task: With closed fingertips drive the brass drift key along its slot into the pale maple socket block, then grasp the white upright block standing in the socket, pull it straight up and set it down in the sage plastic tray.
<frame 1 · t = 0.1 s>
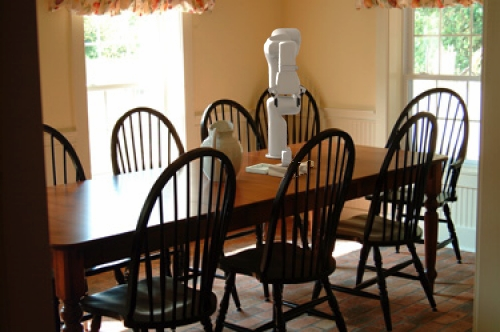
hand: (287, 107, 338), 31 cm above the table, tool pointing down, fingers open, 9 cm apart
white upright block: (286, 174, 342), resting in socket block
rack tray: (263, 170, 351), on the table
drift key: (304, 166, 354), point 2 cm above the table, slide at 0.0 cm
socket block: (289, 173, 344), on the table
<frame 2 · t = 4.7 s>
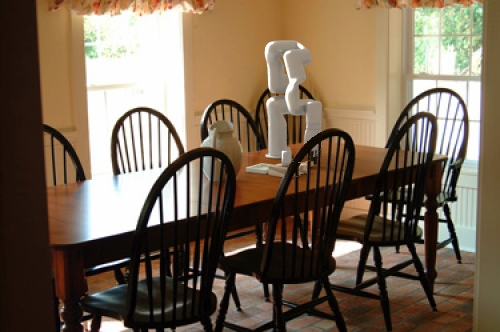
hand: (313, 164, 360), 1 cm above the table, tool pointing down, fingers closed
drift key: (304, 166, 354), point 2 cm above the table, slide at 0.2 cm, touching gripper
everything else where it was.
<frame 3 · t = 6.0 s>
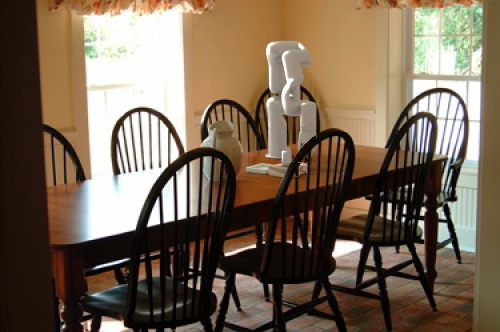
hand: (307, 165, 356), 1 cm above the table, tool pointing down, fingers closed
drift key: (298, 167, 350), point 2 cm above the table, slide at 5.4 cm, touching gripper
everything else where it was.
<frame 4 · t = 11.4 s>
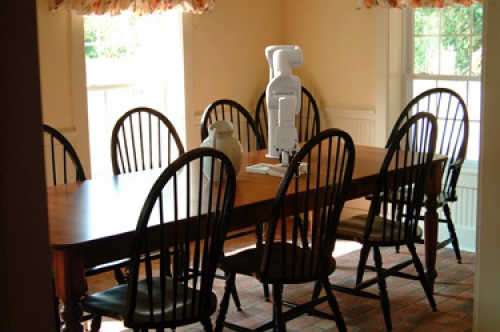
hand: (286, 163, 341), 5 cm above the table, tool pointing down, fingers closed on white upright block, 4 cm apart
white upright block: (286, 174, 342), resting in socket block, touching gripper
drift key: (298, 167, 350), point 2 cm above the table, slide at 5.4 cm
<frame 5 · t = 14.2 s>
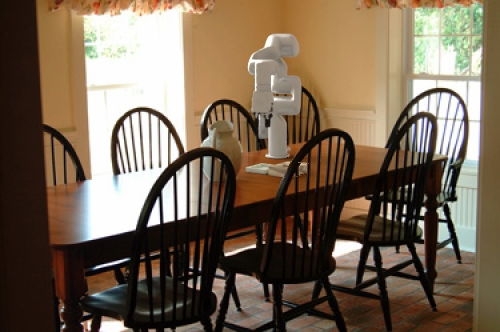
hand: (263, 126, 347), 21 cm above the table, tool pointing down, fingers closed on white upright block, 4 cm apart
white upright block: (263, 137, 348), point 16 cm above the table, touching gripper
everything else where it was.
when the fingers open (7 cm above the table, at t = 17.3 s): white upright block stays where it is, resting on rack tray.
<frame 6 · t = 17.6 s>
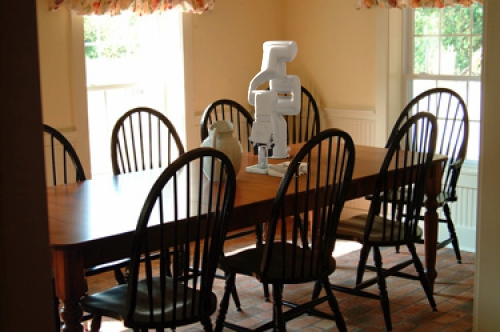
hand: (263, 155, 350), 7 cm above the table, tool pointing down, fingers open, 7 cm apart
white upright block: (263, 169, 351), point 1 cm above the table, touching rack tray
everything else where it was.
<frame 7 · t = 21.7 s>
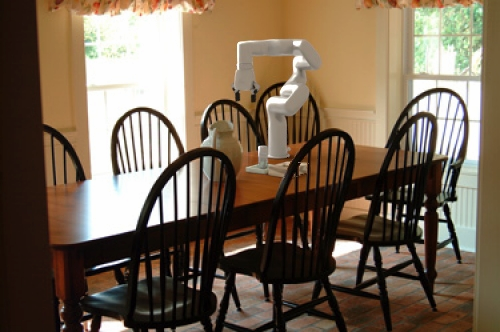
hand: (245, 101, 367), 30 cm above the table, tool pointing down, fingers open, 9 cm apart
nothing on the table moved.
at the end: drift key slide at 5.4 cm; white upright block inside the target area on the rack tray (0.0 cm from its centre), point 0.6 cm above the rack tray's base; the gripper is holding nothing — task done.
